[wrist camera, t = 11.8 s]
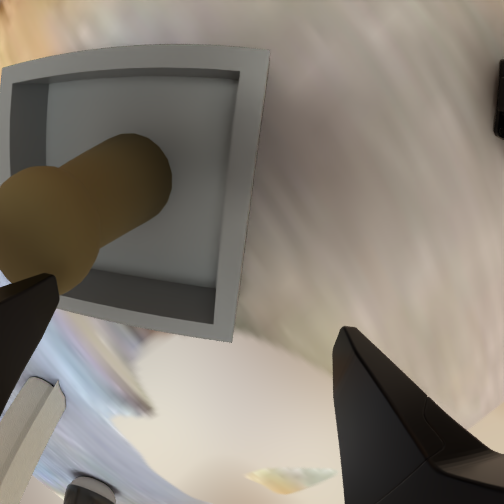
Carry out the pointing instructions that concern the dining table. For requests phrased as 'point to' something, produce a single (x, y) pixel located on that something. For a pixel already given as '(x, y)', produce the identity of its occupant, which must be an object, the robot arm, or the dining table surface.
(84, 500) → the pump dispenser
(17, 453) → the grey tall block
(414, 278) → the dining table surface
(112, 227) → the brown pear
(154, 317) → the tray
